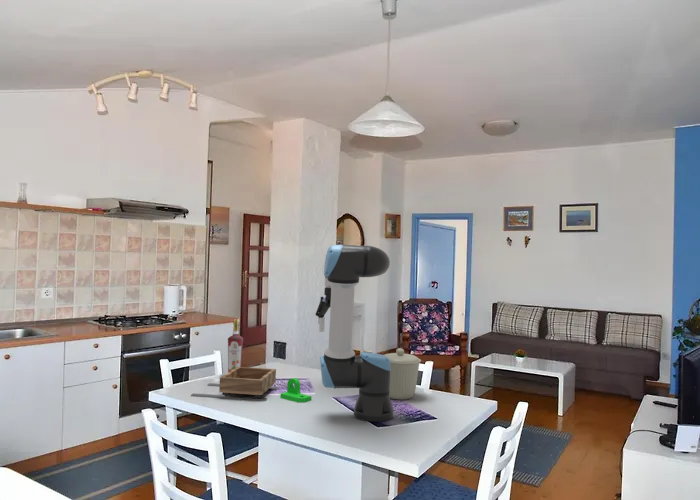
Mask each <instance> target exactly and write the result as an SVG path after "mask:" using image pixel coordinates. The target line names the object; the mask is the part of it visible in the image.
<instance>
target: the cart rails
mask: <svg viewBox="0 0 700 500" xmlns="http://www.w3.org/2000/svg"><path fill="white" fill-rule="evenodd" d="M207 386H208V387H209V386H211V387H220V383H211V382H210V383H208V384H207ZM268 390H270V391H271V390H273V391H277V390H279V387H277V386H276V387H275V386H271V387H270V388H269V389H268ZM190 396H191V397H198V398H199V397H200V398H201V397H202V398H215V399H216V398H217V399H228V400H229V399H231V400H232V399H233V400H243V401H244V400H247V401H259V402H260V401H264V402H266V401H267V400H268V397H258V398H255V397H254V396H243V395H242V396H240V395H239V396H238V395H228V396H225V395H224V394H209V393H192V394H190Z"/></svg>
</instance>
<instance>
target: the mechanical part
mask: <svg viewBox="0 0 700 500" xmlns="http://www.w3.org/2000/svg"><path fill="white" fill-rule="evenodd" d="M286 386H287V388H286V392H285V391H284V392H282V393H280V396H279V397H280V399H284V400H287V401H291V402H295V403H307V402H311V401H312V397H313V396H311V395H308V394H305V393H304V394H303V393H301V382H300V380H299V379H298V378H297V377H292V378H290V379H288V380H287V385H286Z"/></svg>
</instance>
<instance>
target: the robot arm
mask: <svg viewBox="0 0 700 500" xmlns="http://www.w3.org/2000/svg"><path fill="white" fill-rule="evenodd" d="M324 259H325V260H324V266H323V267H324V268H323V276H324V286H325V287H324V292H323V293H324V296H320V299H319V305H318V307H317V309H316V312H315V316H316V317H317V318H318V332H319V333H323V332H325V321H326V320H325V319H326V318H325V315H326V314H327V312H328V310H330V311H329V312H330V313H329V330H328V331H329V332H328V347H327V348H326V349H325V350H324V351H323V353H324V355H321V356H320V357H319V360H320V361H319V363H320V364H319V365H320V373H321V382H322V386H323V387H324V388H327V389H358V396H357V398H356V401H355V404H354V408H353V416H354V417H355V418H356V419H358V420H361V421H365V422H387V421H390V420H392V419H393V418H394V415H395V414H394V407H393V404H392V400H391V398H390V396H389V393H390V371H391V369H390V360H389V358H388V357H386V356H384V355H385V354H380V353H376V352H369V351H363V352H360V354H359V356H356V352H355V351H354V350H353V349H352V345H353V343H352V342H353V341H352V339H353V324H354V323H353V322H354V303H355V288H356V286H357V285H358V284H359V283H360V278H372V277H373V278H374V277H379V276H382V275H383V274H386V272H387V271H388V269H389V268H390V262H391V261H390V257H389V256H388V254H387V253H386V252H385V251H384V250H382V249H381V248H379V247H376V246H373V245H358V244H357V245H355V244H341V243H340V244H332V245H330V246H329V247H328V248H327V251H326V255H325V258H324Z"/></svg>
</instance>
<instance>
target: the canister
mask: <svg viewBox="0 0 700 500" xmlns="http://www.w3.org/2000/svg"><path fill="white" fill-rule="evenodd" d="M383 355H384V356H386V357H388V358H389V360H390V369H391V371H390V393H389V396H390V400H391V399H392V400H398V401H401V400H403V401H404V400H409V399H412V398H413V397H414V396H415V393H416V389H417V382H418V375H419V368H420V364H421V362H422V359H420V358H419V357H418V356H416V355H413V354H409V353H405V350H404V349H403V348H402V347H400V348H399V347H398V348H397V349H396V351H395V352H391V353H385V354H383Z"/></svg>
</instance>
